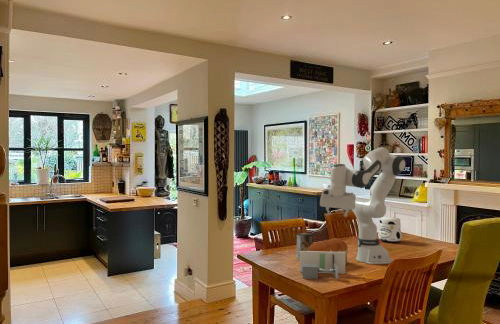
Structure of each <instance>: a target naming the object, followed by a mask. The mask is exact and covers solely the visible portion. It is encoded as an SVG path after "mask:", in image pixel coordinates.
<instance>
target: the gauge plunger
mask: <svg viewBox="0 0 500 324" xmlns="http://www.w3.org/2000/svg"><path fill="white" fill-rule="evenodd" d="M318 272H333V273H332V274H333V276H334V277H335V280H337V279H339V273H338V266H337V265H336V263H334V254H333V269H318Z"/></svg>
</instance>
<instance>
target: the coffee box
mask: <svg viewBox="0 0 500 324" xmlns="http://www.w3.org/2000/svg"><path fill="white" fill-rule="evenodd" d="M313 243H314V234H313V233H310V232H303V233H302V232H299V233H296V258H297V259H298V260H300V251H307V249H308V247H309V246H310V245H311V244H313Z"/></svg>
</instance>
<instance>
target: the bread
mask: <svg viewBox="0 0 500 324" xmlns="http://www.w3.org/2000/svg"><path fill="white" fill-rule="evenodd" d="M348 249H349V248H348V245H347V243H346V242H345V241H344V240H342V239H341V238H337V237H332V238H330V239H325V240H321V241H313V244H311V245H310V246H309V247H308V249H307V251H322V252H345V265H346V264H348V252H349V250H348Z"/></svg>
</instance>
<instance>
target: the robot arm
mask: <svg viewBox="0 0 500 324" xmlns="http://www.w3.org/2000/svg"><path fill="white" fill-rule="evenodd" d="M362 163H363V166H364V168H365V169H363V170H362V169H361V170H360V169H359V170H357V169H356V170H354V169H350V168H348V167H347V166H346V165H345V164H344V163H337V164H334V165H332V166H331V169H330V177H329V178H330V185H329V188H327V189H324V190H322V191H321V196H320V200H319V206H320V207H323V208H325V210H326V212H327V216H331V215H332V212H331V211H330V208H334V209H343V210H344V209H345V213H343V217H344V218H347V217H348V213H349V211H350V210H351V211H352V212H353V213H354V215H355V217H356V220H357V224H358V237H357V254H356V257H355V260H356V261H358V262H360V263H365V264H367V265H368V264H369V265H382V264H383V265H384V264H386V265H387V264H390V262H391V261H393V262H394V260H393V259H392V258H391V257H390V252H389V251H388V250H387V249H386V248H385V247H384V246H383V245H381V244H383V241H382V240H380V239H379V238H378V227H377V225H376V224H375V222H374V220H373V219H380V218H382V217H385V215H386V213H387V207H386V205H385V200H386V198H387V196H388V194H389V193H390V191H391V190H392V187H393V186H394V183H395V181H396V178H397V176H398V175H399V174H401V173H402V172H403V171H404V170H405V168H406V159H405V158H404V157H402V156H399V155H396V154H395V155H394V154H392V153H390V151H389V150H388V149H387V148H386V147H384V146H381V147H377V148H375V149H373V150H371V151H369V152H368V153H367V154H366V155H365V156H364V157H363V159H362ZM380 170H381V172H380ZM379 172H380V173H379ZM378 173H379V174H378ZM377 174H378V176H377V177H376V179H375V180H374V182H373V183H372V184H371V186H370V188H369V193H370V196H369V197H370V198H368V199H366V198H357V197H356V194H355V193H354V192H347V191H346V189H347V187H352V188H354V187H355V188H360V189H363V188H366V187H367V186H368V184H369V183H370V181H371V180H372V178H373V177H375V176H376V175H377Z"/></svg>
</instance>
